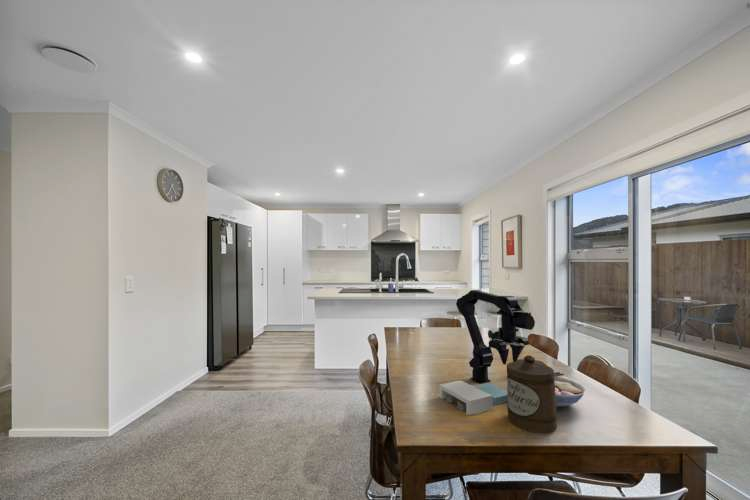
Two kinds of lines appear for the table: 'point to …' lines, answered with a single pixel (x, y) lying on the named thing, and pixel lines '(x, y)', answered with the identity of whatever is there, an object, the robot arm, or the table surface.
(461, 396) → the white box
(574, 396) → the ramen bowl
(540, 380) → the wooden container
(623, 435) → the table surface
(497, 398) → the light blue slab
